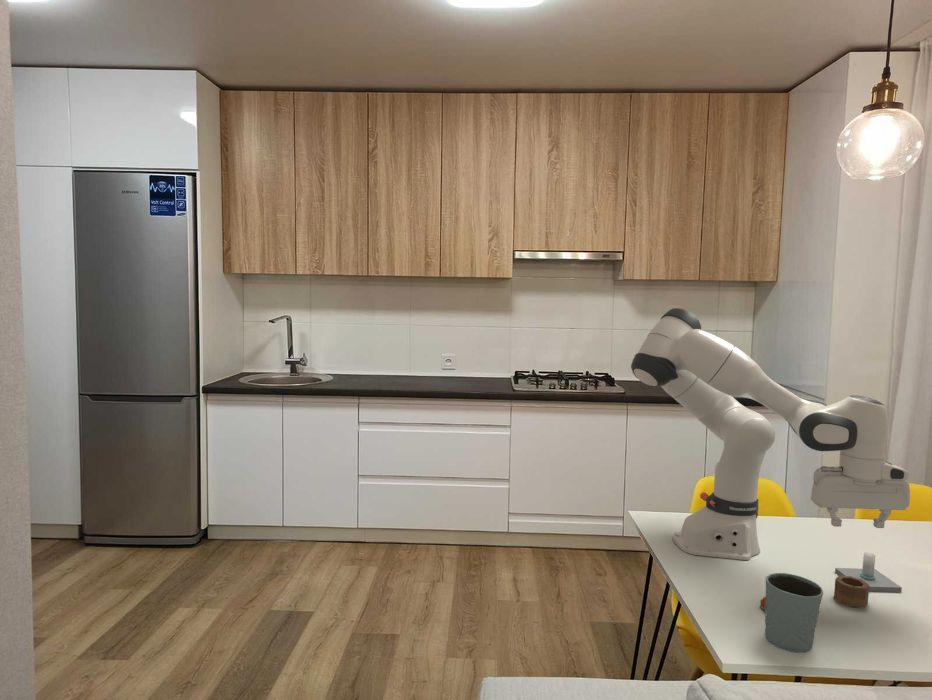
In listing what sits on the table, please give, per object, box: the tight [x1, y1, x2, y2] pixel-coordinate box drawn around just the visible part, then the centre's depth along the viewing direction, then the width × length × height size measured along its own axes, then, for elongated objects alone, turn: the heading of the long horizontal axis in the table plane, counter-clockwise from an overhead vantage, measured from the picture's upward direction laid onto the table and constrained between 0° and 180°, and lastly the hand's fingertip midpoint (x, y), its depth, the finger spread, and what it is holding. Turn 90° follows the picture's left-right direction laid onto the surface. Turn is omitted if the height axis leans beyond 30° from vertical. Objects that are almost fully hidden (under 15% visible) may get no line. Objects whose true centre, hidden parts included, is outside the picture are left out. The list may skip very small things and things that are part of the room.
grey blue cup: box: [764, 572, 824, 654], centre depth 127 cm, size 10×10×12 cm
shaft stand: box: [834, 552, 903, 593], centre depth 155 cm, size 10×10×7 cm
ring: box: [833, 575, 870, 609], centre depth 145 cm, size 6×6×4 cm
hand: (857, 526), depth 145 cm, fingers open, 8 cm apart
